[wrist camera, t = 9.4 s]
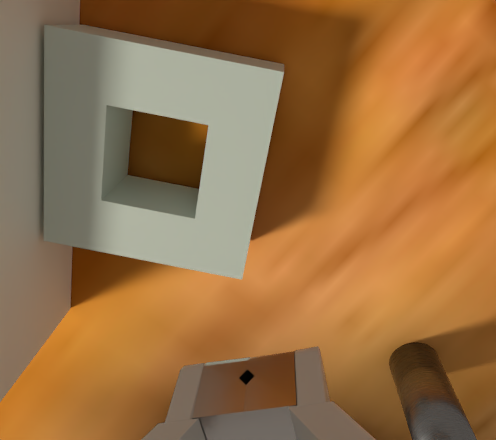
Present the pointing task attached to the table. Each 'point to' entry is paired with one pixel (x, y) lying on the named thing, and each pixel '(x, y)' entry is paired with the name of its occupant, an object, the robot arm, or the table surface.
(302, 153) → the table surface
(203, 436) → the robot arm
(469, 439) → the dowel
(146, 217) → the sliding block
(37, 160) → the wall
